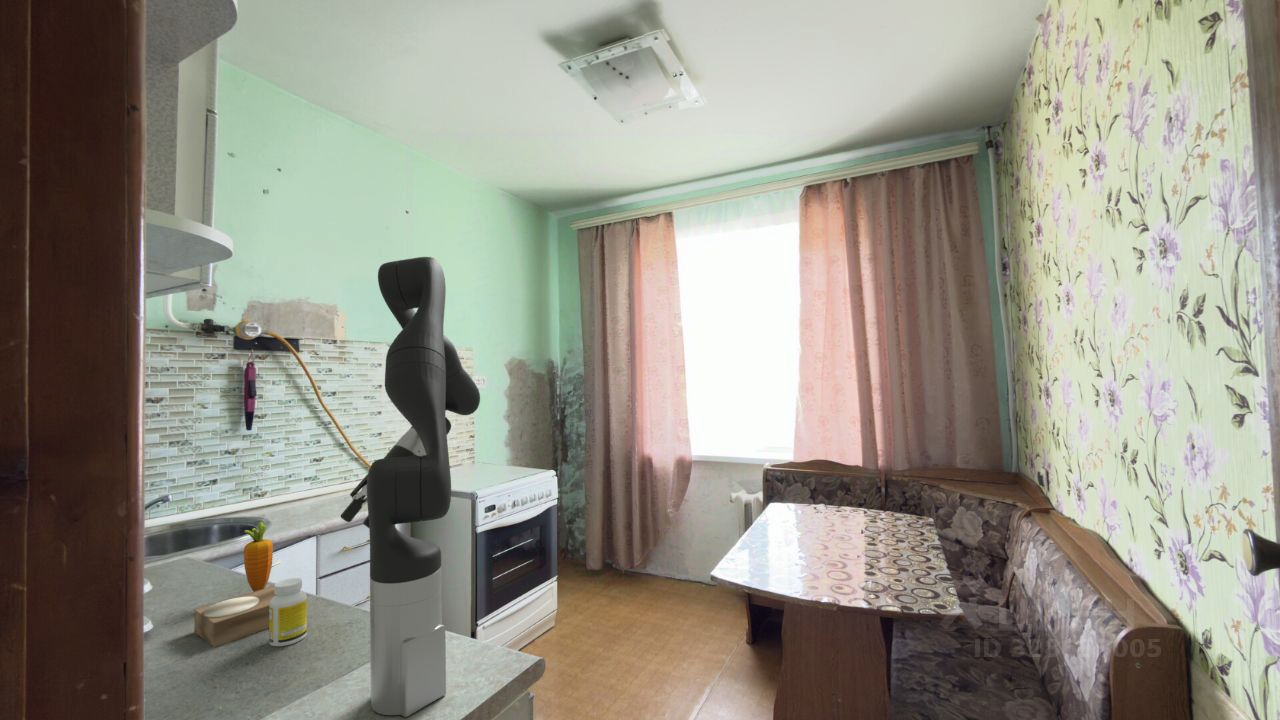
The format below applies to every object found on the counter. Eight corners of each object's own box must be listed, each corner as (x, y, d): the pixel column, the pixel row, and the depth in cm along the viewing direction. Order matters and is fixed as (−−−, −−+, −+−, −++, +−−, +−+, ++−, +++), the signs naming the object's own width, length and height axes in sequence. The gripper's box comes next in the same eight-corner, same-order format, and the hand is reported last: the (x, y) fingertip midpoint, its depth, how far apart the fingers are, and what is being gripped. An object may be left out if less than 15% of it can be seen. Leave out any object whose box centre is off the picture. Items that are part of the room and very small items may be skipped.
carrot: (257, 601, 107) (257, 527, 107) (237, 599, 108) (237, 526, 108) (278, 591, 111) (278, 520, 112) (259, 589, 112) (259, 519, 113)
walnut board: (305, 614, 100) (305, 592, 100) (214, 647, 88) (214, 621, 88) (282, 603, 105) (282, 581, 105) (194, 632, 94) (194, 607, 94)
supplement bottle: (314, 633, 92) (314, 576, 93) (288, 648, 87) (288, 589, 87) (287, 631, 93) (287, 575, 94) (260, 646, 88) (260, 587, 88)
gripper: (379, 441, 112) (322, 507, 102) (418, 446, 104) (360, 518, 94) (402, 462, 116) (350, 527, 106) (441, 468, 108) (389, 539, 98)
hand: (355, 523), depth 100 cm, fingers open, 8 cm apart
